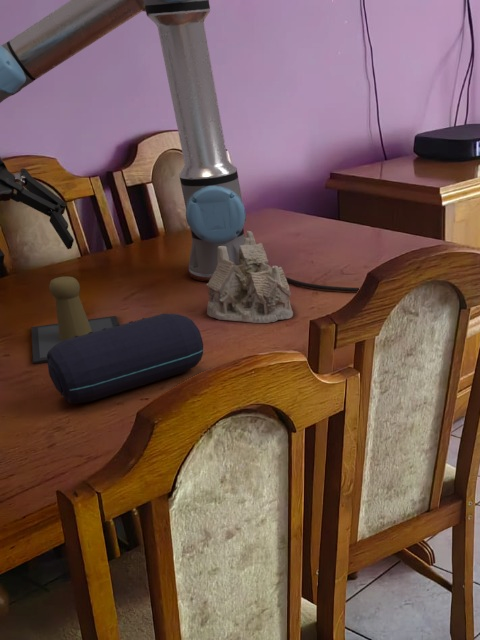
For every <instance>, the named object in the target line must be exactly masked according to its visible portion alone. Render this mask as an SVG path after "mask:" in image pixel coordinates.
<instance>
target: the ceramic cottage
mask: <svg viewBox="0 0 480 640" xmlns="http://www.w3.org/2000/svg"><path fill="white" fill-rule="evenodd" d="M238 256H239V258H238V261H239V263H240V265H237V266H236V265H235V263H233V262H231V261H229V256H228V253H227V248H226V247H225V246H219V247H218V259H217V260H218V265H217V268H216V270H215V272H214V274H212V277H211V279H210V280H209V282H207V283H206V286H207V288H209V290H208V299H209V301H208V302H207V303H206V307H207V308H206V311H207V312H206V315H208V316H209V317H210V318H213V319H216V320H219V321H233V322H244V323H253V324H270V323H274V322H278V321H281V320H282V321H283V320H288V319H289V320H290V319H291V318H292V317H294V311H293V308H292V306H291V301H290V296H291V295H292V292H291V290H290V289H291V288H290V285H289V282H287V280H286V276H285V272H284V270H283V268H282V266H279V267H278V265H272V266H271V265H269V259H268V255H267V253H266V251H265V248H264V245H263V243H262V242H259V243H257V242H256V240H255V236H254V233H253V231H249V230H247V231H246V236H245V238H244V245H241V246H239V254H238Z"/></svg>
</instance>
